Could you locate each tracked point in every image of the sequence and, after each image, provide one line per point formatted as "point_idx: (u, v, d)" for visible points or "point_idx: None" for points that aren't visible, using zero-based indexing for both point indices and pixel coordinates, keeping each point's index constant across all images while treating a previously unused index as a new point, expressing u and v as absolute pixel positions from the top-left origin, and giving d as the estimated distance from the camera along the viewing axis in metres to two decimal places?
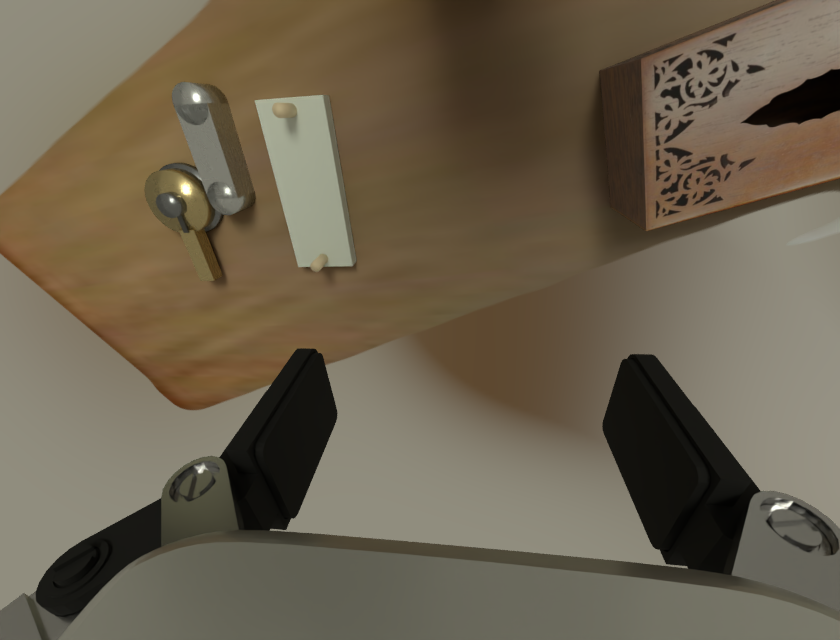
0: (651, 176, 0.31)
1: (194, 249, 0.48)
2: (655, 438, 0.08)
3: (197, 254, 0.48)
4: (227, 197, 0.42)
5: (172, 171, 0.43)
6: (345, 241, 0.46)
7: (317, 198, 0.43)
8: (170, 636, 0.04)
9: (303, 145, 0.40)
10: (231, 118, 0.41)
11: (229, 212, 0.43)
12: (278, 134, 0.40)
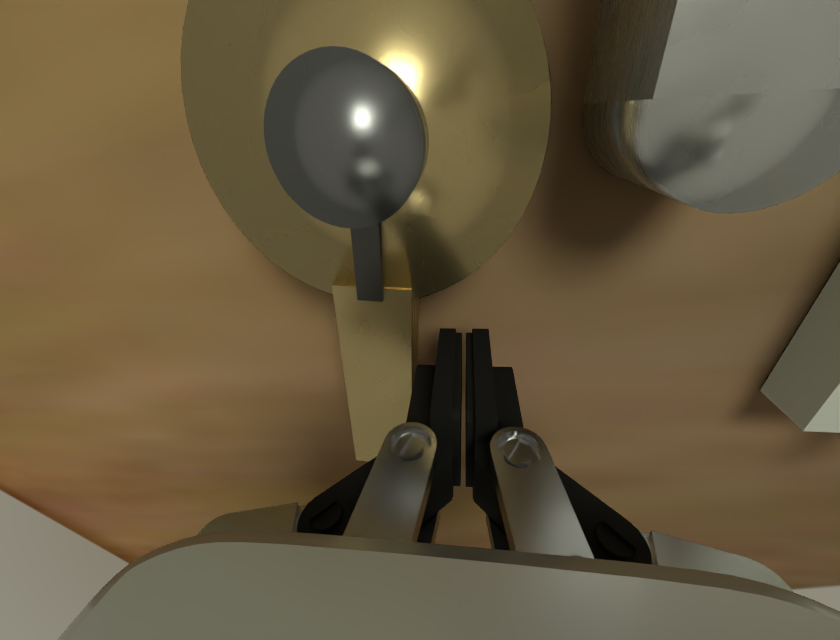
0: None
1: (377, 365, 0.11)
2: None
3: (385, 383, 0.11)
4: (831, 76, 0.06)
5: None
6: None
7: None
8: (170, 636, 0.04)
9: None
10: None
11: (749, 196, 0.07)
12: None
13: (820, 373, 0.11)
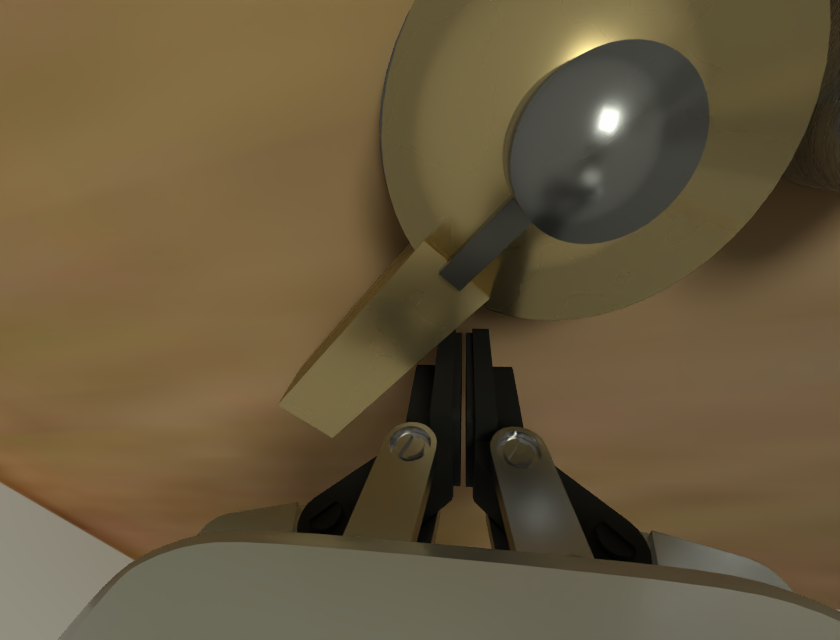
0: None
1: (391, 338, 0.09)
2: None
3: (382, 357, 0.10)
4: None
5: None
6: None
7: None
8: (170, 636, 0.04)
9: None
10: None
11: None
12: None
13: None
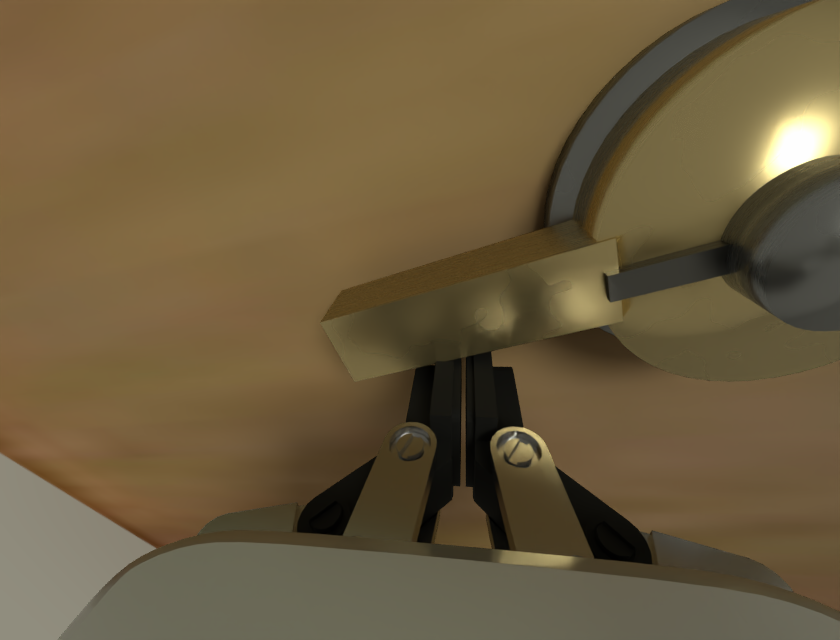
0: None
1: (503, 312, 0.09)
2: None
3: (478, 326, 0.09)
4: None
5: None
6: None
7: None
8: (170, 636, 0.04)
9: None
10: None
11: None
12: None
13: None
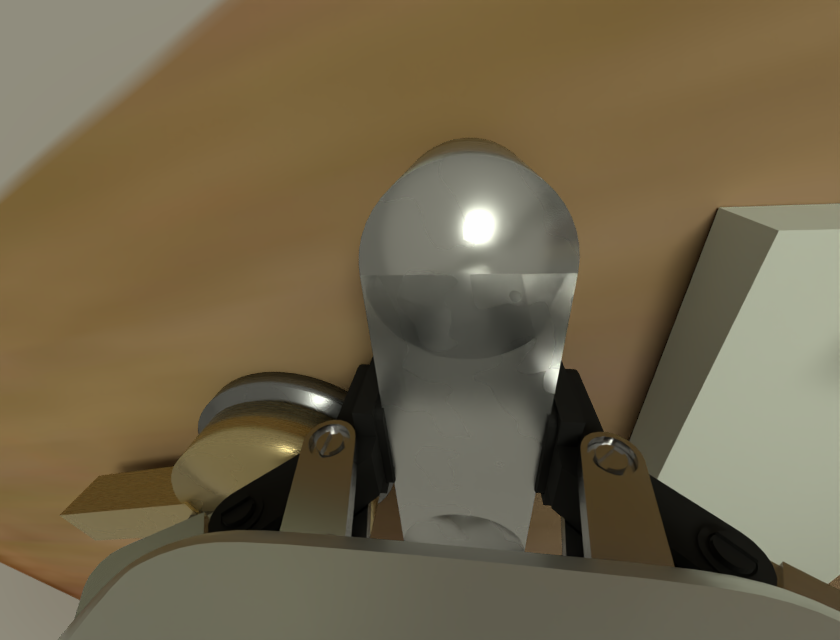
0: None
1: (153, 523, 0.15)
2: None
3: (145, 526, 0.15)
4: (482, 547, 0.11)
5: (372, 515, 0.13)
6: None
7: (786, 527, 0.12)
8: (170, 636, 0.04)
9: None
10: None
11: None
12: (793, 362, 0.09)
13: None
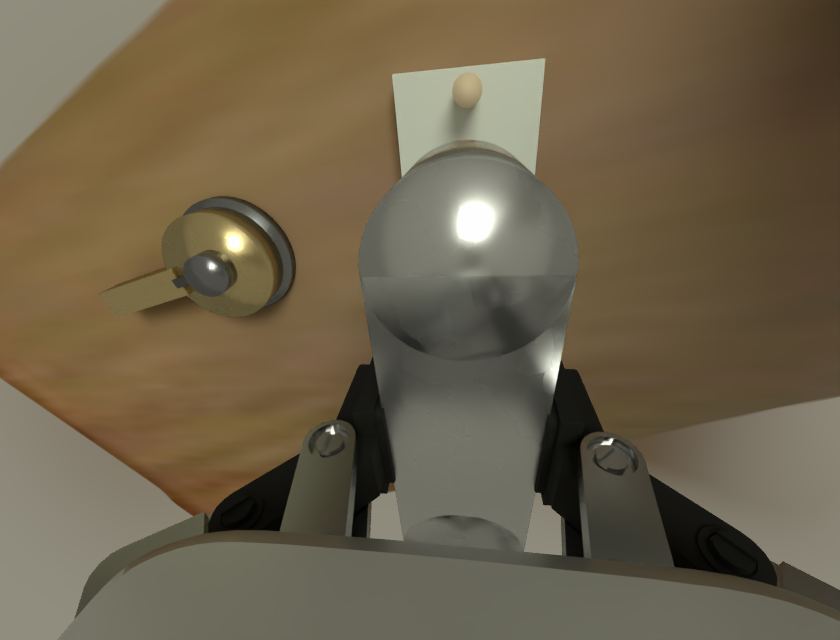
0: None
1: (152, 291, 0.26)
2: None
3: (147, 296, 0.27)
4: (482, 547, 0.11)
5: (270, 269, 0.25)
6: None
7: None
8: (170, 636, 0.04)
9: None
10: None
11: None
12: (429, 143, 0.20)
13: None
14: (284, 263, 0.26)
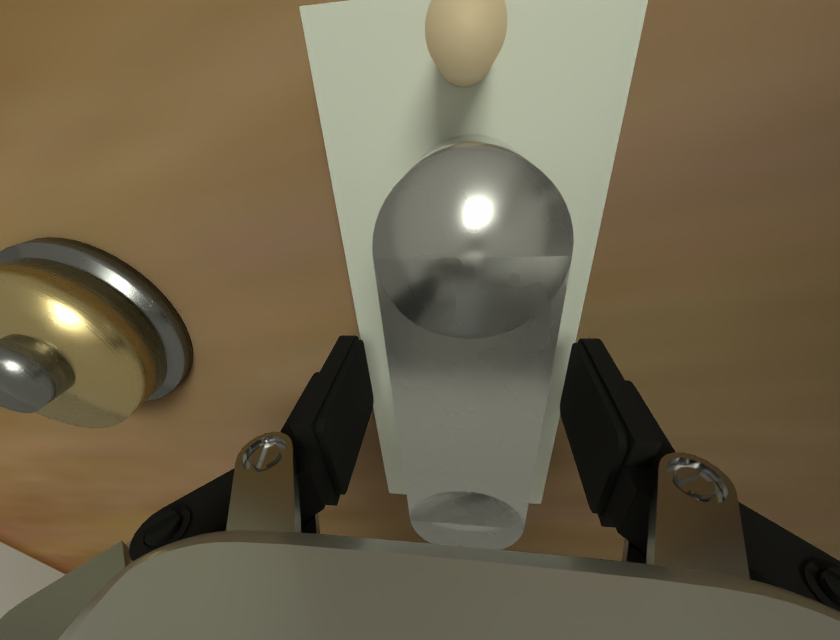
0: None
1: None
2: (593, 412, 0.09)
3: None
4: (484, 523, 0.12)
5: (128, 365, 0.14)
6: (540, 458, 0.16)
7: None
8: (170, 636, 0.04)
9: None
10: None
11: None
12: (388, 159, 0.10)
13: None
14: (167, 344, 0.16)
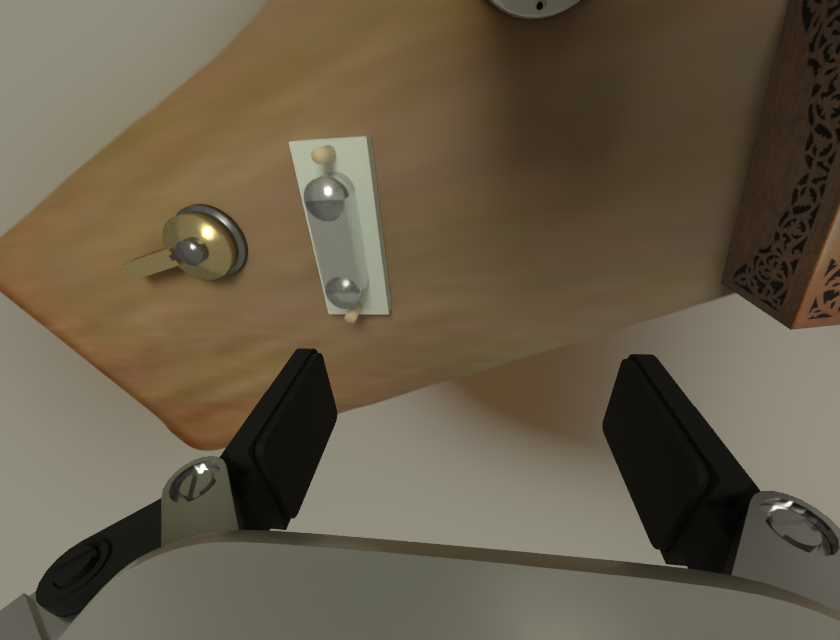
0: None
1: (156, 263, 0.42)
2: (655, 438, 0.08)
3: (153, 266, 0.42)
4: (348, 292, 0.38)
5: (229, 249, 0.40)
6: (382, 288, 0.42)
7: None
8: (170, 636, 0.04)
9: None
10: (357, 206, 0.36)
11: (347, 306, 0.39)
12: (313, 178, 0.36)
13: None
14: (239, 246, 0.42)
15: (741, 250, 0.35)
